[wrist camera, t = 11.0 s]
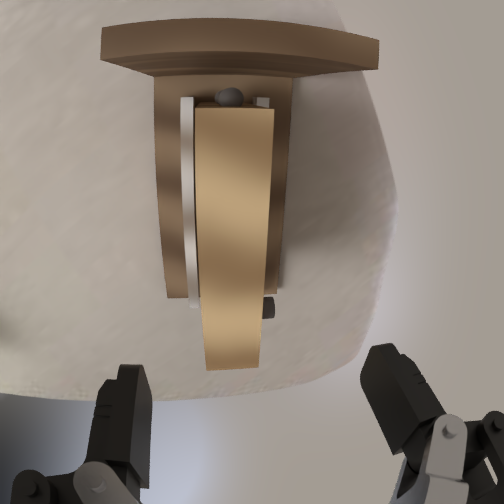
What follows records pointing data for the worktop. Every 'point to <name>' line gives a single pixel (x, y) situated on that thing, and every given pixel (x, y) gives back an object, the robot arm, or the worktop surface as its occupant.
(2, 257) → the worktop surface
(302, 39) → the hinge base
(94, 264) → the worktop surface
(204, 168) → the oak door
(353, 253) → the worktop surface
